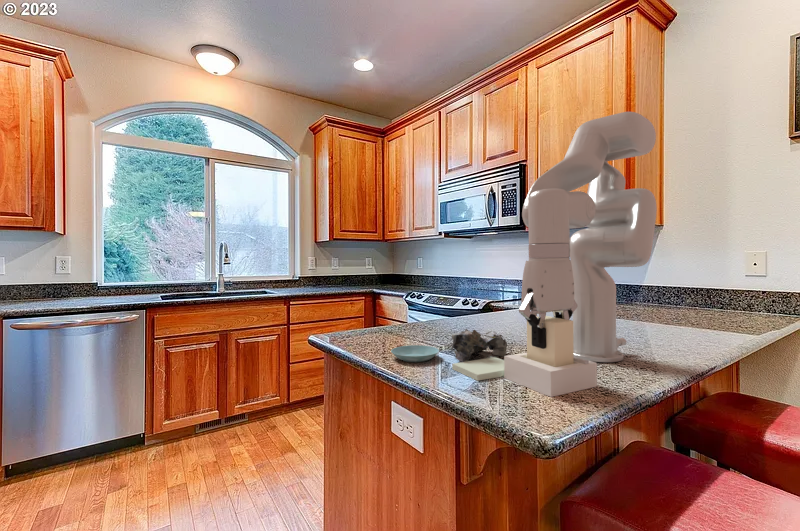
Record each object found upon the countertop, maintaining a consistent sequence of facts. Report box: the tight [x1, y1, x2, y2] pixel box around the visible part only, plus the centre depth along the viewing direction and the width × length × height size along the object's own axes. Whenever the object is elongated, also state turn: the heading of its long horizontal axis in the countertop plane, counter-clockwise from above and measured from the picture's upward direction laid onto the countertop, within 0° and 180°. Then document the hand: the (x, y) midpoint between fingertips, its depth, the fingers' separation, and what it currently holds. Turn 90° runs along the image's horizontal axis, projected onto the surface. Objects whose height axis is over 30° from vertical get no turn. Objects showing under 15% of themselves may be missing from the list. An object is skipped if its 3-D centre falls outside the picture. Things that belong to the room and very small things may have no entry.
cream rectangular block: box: [526, 315, 574, 367], centre depth 75 cm, size 5×7×11 cm
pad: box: [451, 356, 504, 382], centre depth 82 cm, size 12×9×1 cm
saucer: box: [390, 344, 440, 363], centre depth 93 cm, size 12×12×2 cm
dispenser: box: [503, 352, 598, 398], centre depth 75 cm, size 12×12×5 cm
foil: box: [450, 328, 508, 362], centre depth 94 cm, size 12×11×15 cm
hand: (549, 344), depth 75 cm, fingers closed on cream rectangular block, 4 cm apart
